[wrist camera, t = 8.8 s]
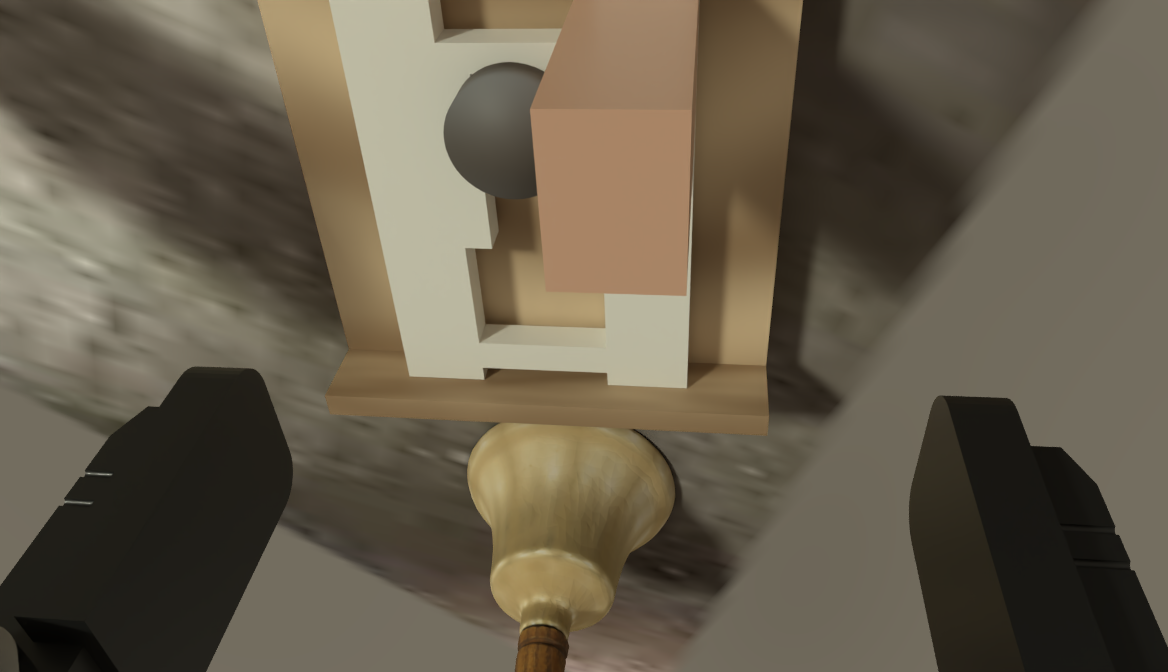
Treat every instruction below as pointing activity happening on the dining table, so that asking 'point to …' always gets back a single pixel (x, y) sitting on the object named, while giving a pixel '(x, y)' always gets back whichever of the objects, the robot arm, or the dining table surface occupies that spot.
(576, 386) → the boss board
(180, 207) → the dining table surface
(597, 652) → the dining table surface
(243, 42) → the dining table surface
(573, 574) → the hand bell
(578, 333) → the panel
